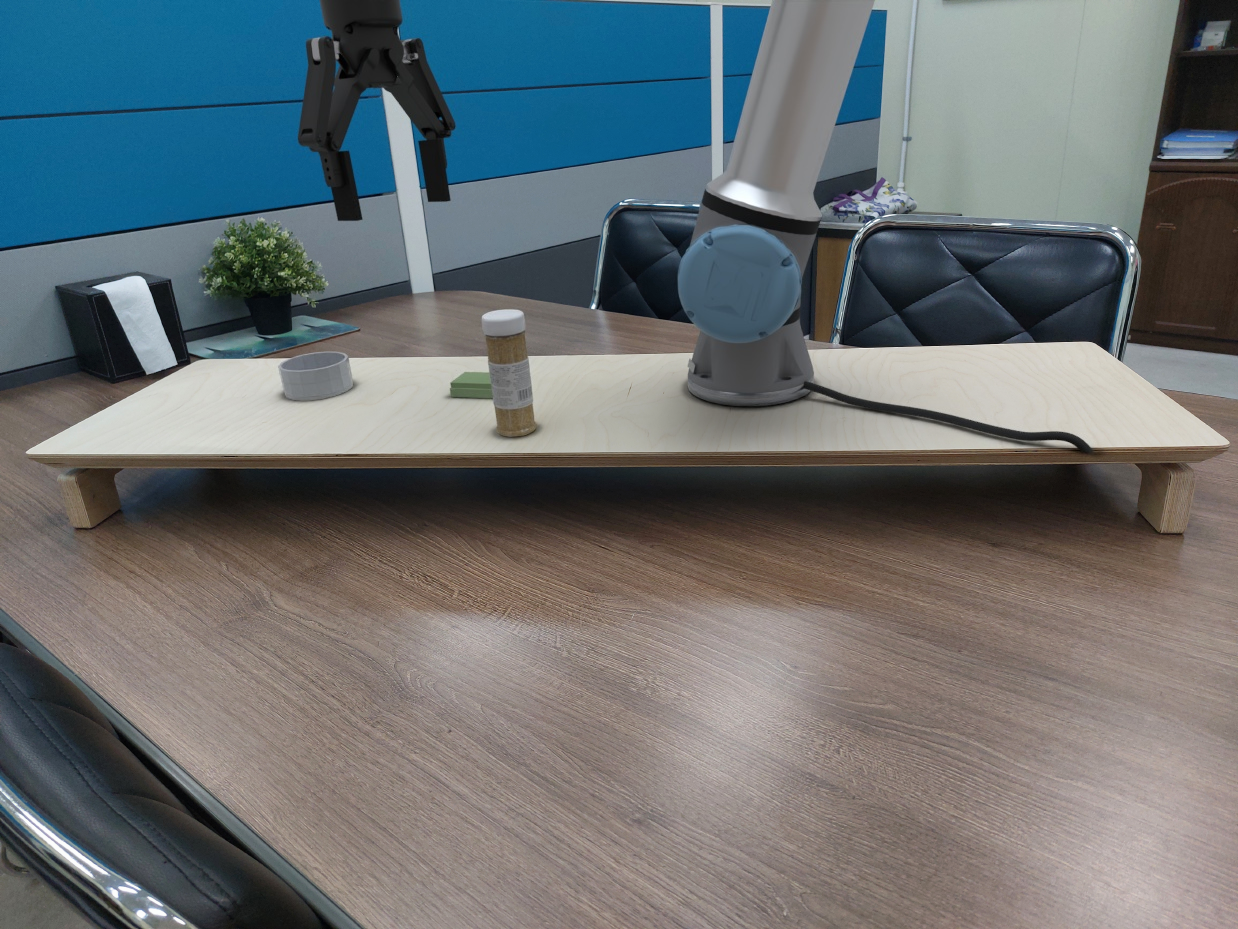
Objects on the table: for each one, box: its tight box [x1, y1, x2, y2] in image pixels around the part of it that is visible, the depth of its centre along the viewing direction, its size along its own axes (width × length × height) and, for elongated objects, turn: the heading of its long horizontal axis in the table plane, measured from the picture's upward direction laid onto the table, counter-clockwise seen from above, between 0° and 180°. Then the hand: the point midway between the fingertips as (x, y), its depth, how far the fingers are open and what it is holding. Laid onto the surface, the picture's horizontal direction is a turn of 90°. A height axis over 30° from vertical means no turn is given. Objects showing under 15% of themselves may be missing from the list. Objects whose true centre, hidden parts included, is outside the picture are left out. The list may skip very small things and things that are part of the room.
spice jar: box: [481, 308, 537, 438], centre depth 91 cm, size 5×5×13 cm
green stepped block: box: [449, 371, 493, 399], centre depth 107 cm, size 8×5×2 cm, turn 75°
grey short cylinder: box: [277, 351, 354, 402], centre depth 111 cm, size 9×9×4 cm
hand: (397, 210), depth 89 cm, fingers open, 13 cm apart
